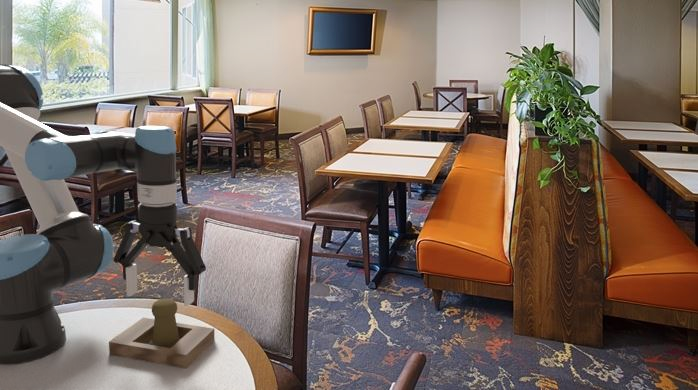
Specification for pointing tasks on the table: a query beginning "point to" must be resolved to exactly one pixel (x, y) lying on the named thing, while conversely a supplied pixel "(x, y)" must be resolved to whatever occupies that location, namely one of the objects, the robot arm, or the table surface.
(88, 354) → the table surface
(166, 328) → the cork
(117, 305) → the table surface
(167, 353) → the brown picture frame
